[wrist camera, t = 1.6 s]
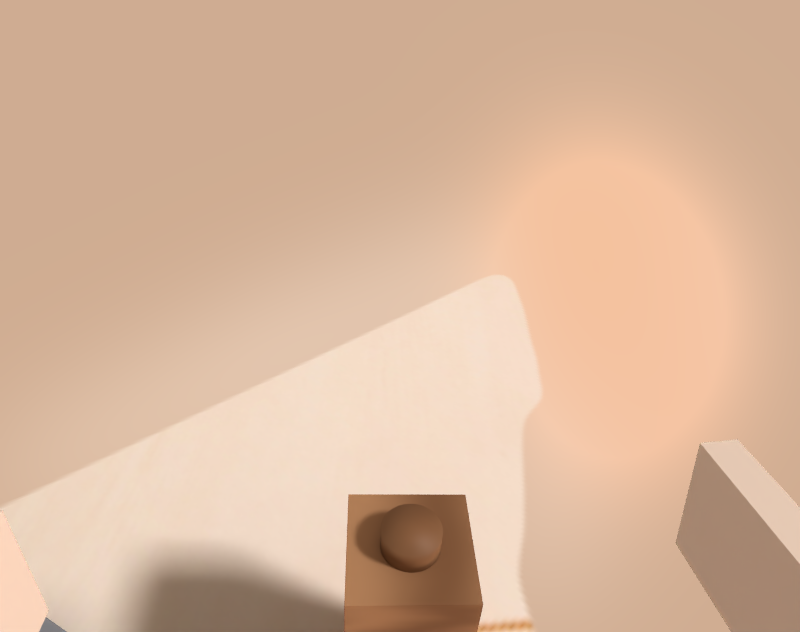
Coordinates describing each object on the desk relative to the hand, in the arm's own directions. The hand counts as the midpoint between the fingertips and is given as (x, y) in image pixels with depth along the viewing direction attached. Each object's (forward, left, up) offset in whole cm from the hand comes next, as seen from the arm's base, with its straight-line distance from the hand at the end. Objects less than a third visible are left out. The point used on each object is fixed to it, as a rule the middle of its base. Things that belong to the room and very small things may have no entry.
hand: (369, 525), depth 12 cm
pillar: (-2, +7, -23) cm, 24 cm away
